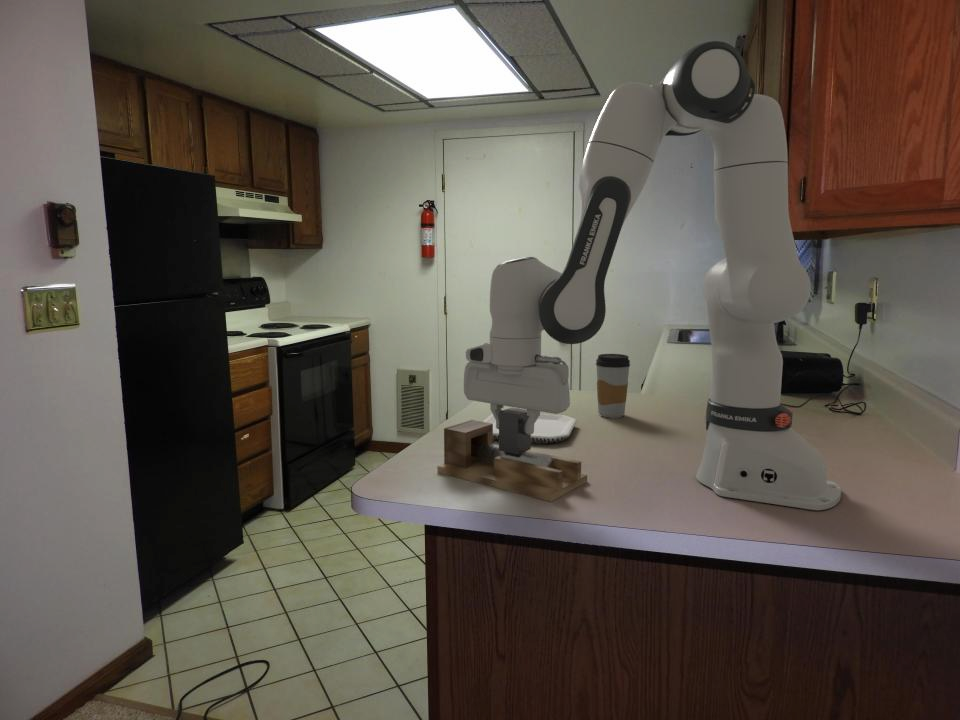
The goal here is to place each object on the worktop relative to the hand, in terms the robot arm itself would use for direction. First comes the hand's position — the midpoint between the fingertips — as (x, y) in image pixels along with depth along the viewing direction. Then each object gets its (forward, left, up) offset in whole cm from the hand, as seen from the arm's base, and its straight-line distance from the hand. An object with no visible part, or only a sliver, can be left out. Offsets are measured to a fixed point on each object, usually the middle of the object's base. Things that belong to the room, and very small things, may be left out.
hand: (514, 431), depth 113 cm
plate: (+16, -28, -9) cm, 33 cm away
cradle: (+1, 0, -8) cm, 9 cm away
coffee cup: (+8, -54, -9) cm, 55 cm away
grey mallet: (0, 0, -7) cm, 7 cm away
